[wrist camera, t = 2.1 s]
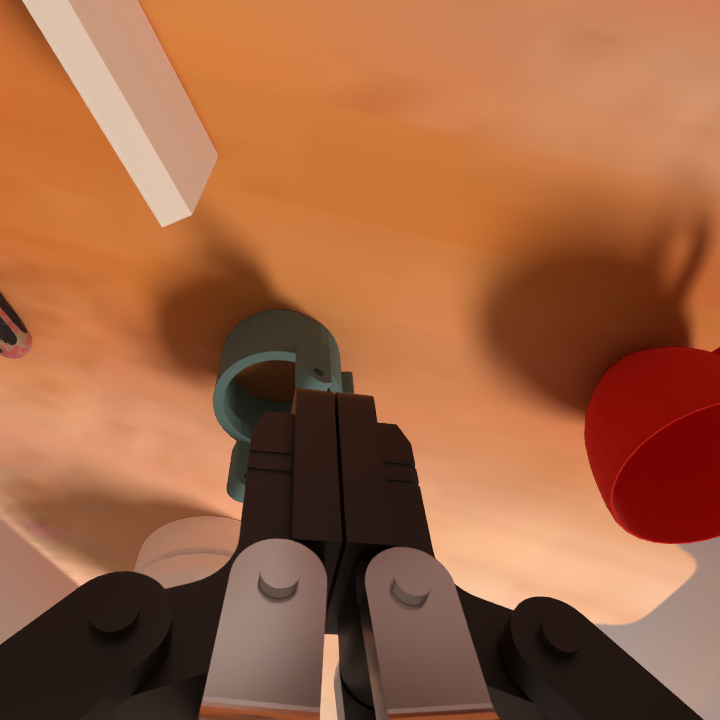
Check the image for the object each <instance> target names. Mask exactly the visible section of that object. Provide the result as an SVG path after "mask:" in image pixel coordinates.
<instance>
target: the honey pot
mask: <svg viewBox="0 0 720 720" xmlns="http://www.w3.org/2000/svg"><path fill="white" fill-rule="evenodd" d="M240 527H241V521H238V520H235V519H231V518H227V517H216V516H199V517H188V518H184V519H181V520H177V521H174V522H170V523H168V524H166V525H164V526H162V527H161V528H159V529H157V530H155V531H154V532H153V533H152V534H151V535H150V536H149V537H148V538H147V539H146V540H145V541H144V543H143V545H142V547H141V550H140V552H139V555H138V558H137V562H136V565H135V569H134V572H137V573H141V574H145V575H147V576H149V577H151V578H153V579H155V580H156V581H157V582H159V583H160V584H161V585H162V586H163V587H164V588H165V589H167V588H171V587H175V586H179V585H183V584H188V583H192V582H195V581H198V580H201V579H204V578H206V577H208V576H210V575H212V574H213V573H215V572H217V571H218V570H219V569H221V568H222V567H223V566H224V565H225V564H226V563H227V562H228V561H229V560H230V558H231V557H232V555H233V554H234V552H235V550H236V548H237V545H238V541H239V535H240Z"/></svg>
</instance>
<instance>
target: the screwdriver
mask: <svg viewBox="0 0 720 720" xmlns="http://www.w3.org/2000/svg"><path fill="white" fill-rule="evenodd" d="M31 347H32V337H31V335H30V333H29V331H28V330H27V328H26V327H25V325H24V324H23V323H22V321H21V320H20V319H19V317H18V316H17V315H16V313H15V312H14V311H13V309H12V308H11V307H10V306H9V304H8V303H7V302H6V301H5V299H4V298H3V297H2V296H1V294H0V355H2V356H4V357H7V358H20V357H23V356H24V355H26V354H27V353H28V352H29V351H30V349H31Z"/></svg>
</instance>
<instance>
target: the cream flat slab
mask: <svg viewBox="0 0 720 720" xmlns="http://www.w3.org/2000/svg"><path fill="white" fill-rule="evenodd" d="M22 1H23V3H24V4H25V6H26V7H27V9H28V11H29V12H30V14H31V16H32V17H33V19H34V20H35V22H36V24H37V25H38V27H39V28H40V30H41V32H42V33H43V35H44V37H45V38H46V40H47V41H48V43H49V45H50V46H51V48H52V50H53V51H54V53H55V54H56V56H57V58H58V59H59V61H60V63H61V64H62V66H63V67H64V69H65V71H66V72H67V74H68V76H69V77H70V79H71V80H72V82H73V84H74V85H75V87H76V88H77V90H78V92H79V93H80V95H81V97H82V98H83V100H84V101H85V103H86V105H87V106H88V108H89V110H90V111H91V113H92V114H93V116H94V118H95V119H96V121H97V123H98V124H99V126H100V127H101V129H102V131H103V132H104V134H105V136H106V137H107V139H108V140H109V142H110V144H111V145H112V147H113V148H114V150H115V152H116V153H117V155H118V157H119V158H120V160H121V161H122V163H123V165H124V166H125V168H126V170H127V171H128V173H129V174H130V176H131V178H132V179H133V181H134V183H135V184H136V186H137V187H138V189H139V191H140V192H141V194H142V196H143V197H144V199H145V200H146V202H147V204H148V205H149V207H150V208H151V210H152V212H153V213H154V215H155V217H156V218H157V220H158V221H159V223H160V225H161V226H162V227H164V226H167V225H169V224H172V223H174V222H176V221H179V220H181V219H184V218H186V217H188V216H191V215H192V214H193V212H194V210H195V207H196V205H197V203H198V201H199V199H200V196H201V194H202V192H203V190H204V187H205V185H206V183H207V181H208V178H209V176H210V174H211V172H212V169H213V167H214V165H215V163H216V160H217V158H218V154H217V152H216V150H215V148H214V147H213V145H212V143H211V141H210V139H209V137H208V135H207V133H206V131H205V129H204V127H203V125H202V123H201V121H200V120H199V118H198V116H197V114H196V112H195V110H194V108H193V106H192V104H191V102H190V100H189V98H188V96H187V94H186V93H185V91H184V89H183V87H182V85H181V83H180V81H179V79H178V77H177V75H176V73H175V71H174V69H173V68H172V66H171V64H170V62H169V60H168V58H167V56H166V54H165V52H164V50H163V48H162V46H161V44H160V42H159V41H158V39H157V37H156V35H155V33H154V31H153V29H152V27H151V25H150V23H149V21H148V19H147V17H146V15H145V14H144V12H143V10H142V8H141V6H140V4H139V2H138V0H22Z"/></svg>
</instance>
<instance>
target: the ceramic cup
mask: <svg viewBox="0 0 720 720" xmlns="http://www.w3.org/2000/svg"><path fill="white" fill-rule="evenodd" d="M584 437H585V446H586V450H587V455H588V459H589V463H590V467H591V470H592V473H593V476H594V478H595V481H596V484H597V486H598V488H599V491H600V493H601V495H602V498H603V500H604V502H605V504H606V506H607V508H608V509H609V511H610V513H611V514H612V516H613V518H614V519H615V521H616V522H617V523H618V524H619V525H620V526H621V527H622V528H623V529H624V530H625V531H626V532H628V533H630V534H632V535H634V536H636V537H637V538H640V539H643V540H647V541H651V542H654V543H665V544H683V543H693V542H698V541H705V540H709V539H712V538H716V537H719V536H720V347H719V348H718V349H716V350H714V351H713V352H709V351H705V350H700V349H694V348H687V347H661V348H655V349H646V350H640V351H637V352H634V353H631V354H629V355H627V356H625V357H623V358H621V359H620V360H618V361H617V362H615V363H614V364H613V365H612V366H611V367H610V368H609V369H608V370H607V371H606V372H605V373H604V375H603V376H602V378H601V380H600V382H599V383H598V385H597V387H596V389H595V391H594V392H593V394H592V396H591V399H590V402H589V405H588V408H587V411H586V416H585V431H584Z"/></svg>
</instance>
